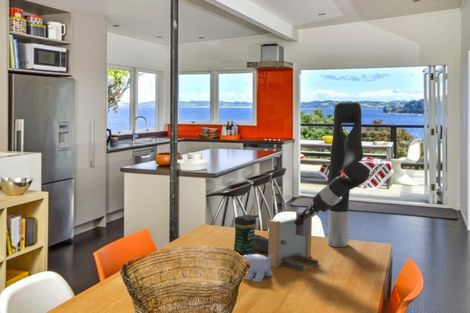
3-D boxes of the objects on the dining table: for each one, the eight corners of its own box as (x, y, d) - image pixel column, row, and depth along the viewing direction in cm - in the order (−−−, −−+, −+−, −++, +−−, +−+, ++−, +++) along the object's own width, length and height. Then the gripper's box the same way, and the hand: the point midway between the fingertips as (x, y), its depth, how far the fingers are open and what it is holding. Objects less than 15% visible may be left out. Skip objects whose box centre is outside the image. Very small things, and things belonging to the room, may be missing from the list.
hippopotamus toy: (245, 268, 188) (246, 245, 188) (278, 276, 180) (278, 252, 179) (231, 275, 180) (231, 252, 179) (264, 284, 171) (265, 259, 171)
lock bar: (301, 232, 195) (302, 209, 195) (310, 234, 192) (310, 211, 191) (295, 234, 192) (295, 210, 192) (303, 236, 189) (304, 212, 188)
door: (303, 254, 209) (304, 213, 208) (311, 256, 206) (313, 214, 204) (268, 264, 193) (269, 220, 192) (276, 267, 190) (277, 222, 188)
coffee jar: (244, 260, 199) (244, 218, 197) (230, 256, 204) (231, 215, 202) (258, 256, 206) (259, 215, 204) (245, 252, 211) (245, 212, 209)
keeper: (299, 259, 201) (300, 252, 201) (318, 265, 194) (318, 258, 194) (282, 265, 194) (282, 258, 193) (301, 271, 186) (301, 263, 186)
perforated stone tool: (279, 254, 209) (279, 239, 209) (271, 256, 206) (271, 241, 205) (255, 247, 220) (256, 232, 220) (247, 249, 217) (248, 234, 216)
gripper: (327, 188, 193) (299, 213, 200) (314, 192, 181) (285, 219, 188) (339, 202, 190) (310, 227, 198) (326, 207, 178) (297, 233, 186)
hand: (298, 223), depth 193 cm, fingers closed on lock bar, 5 cm apart
